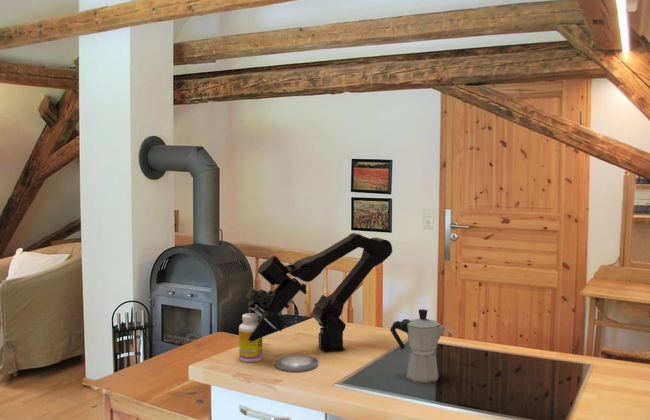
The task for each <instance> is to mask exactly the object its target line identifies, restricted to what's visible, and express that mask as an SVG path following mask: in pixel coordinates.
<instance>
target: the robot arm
mask: <svg viewBox="0 0 650 420" xmlns="http://www.w3.org/2000/svg"><path fill="white" fill-rule="evenodd" d="M358 248H360V249H363V250H362V253H361V257H360V259H359V260H358V261H357V263H355V265H354V266H353V268H352V269H351V270H350V271H349V272H348V274H347V275H346V276H345V278H343V280H342V281H341V282H340V283H339V285H338V286H337V287H336V288H335V290H334V291H333V292H332V293H331V294H330V295H328V296H326V295H325V294H322V295H321V296H320V298H319V300H318V301H316V303H314V304H313V305H314V308H313V310H312V316H313V319H314V320H315V321H316V322H317V323H318V325H319V326H320V328H319V329H320V330H319V332H318V345H317V346H318V347H319V349H321V350H322V352H323V353H330V352H337V351H341V352H342V351H345V350H346V348H345V347H344V346H343V345H344V331H345V329H346V327H347V324H346V323H345V322H344V321H343V320H342V319H341V318H340V317H341V316H342V313H343V309H344V307H345V306H344V305H345V304H346V302H347V301H348V300H349V298H350V297H352V295H353V294H354V292H355V291H356V290H357V289H358V288H359V286H360V285H361V283H362V282H364V280H365V278H367V276H368V275H369V274H370V272H371V271H372V270H373V269H374V268H375V267H376V266H379V265H380V264H382V263H384V262H385V261H386V259H388V258H389V257H390V256H391V255H392V253H393V245H392V243H391V242H390V241H389V239H388V240H387V239H384V238H381V237H380V238H379V237H378V236H377V237H376V236H375V237H371V238H369V237H367V236H364V235H363V234H360V233H356V232H352V233H350V234H348V235H347V236H346V237H344V238H343V239H341V240H339V241H338V242H335V243H334V244H332V245H331V246H329V247H326V249H324V250H322V251H320V252H318V253H315V254H313V255H310V256H309V255H308V256H305V257H303V258H299V259H298V260H296V261H295V262H294V263H292V264H287V265H284V263H282V262H281V261H280V259H279V258H278V257H277V256H275V255H272V256H271V257H270V258H268V259H267V260H265V261H263V262H262V263H261V264H260V266H259V268H258V269H257V273H258V274H259V275H260V276H261V277H262V278H263V279H265V281H266V282H268V283H269V285H270V286H276V287H274V289H273V291H272V290H268V292H267V290H264V289H261V288H260V289H258V288H257V289H256V288H254V287H251V286H250V287H249V289H248V291H247V294H246V296H245V298H246V299H248V300H249V301H248V303H247V305H248V313H255V314H258V315H259V319H258V323H259V324H258V326H257V327H256V328H255V330H254V331H253V333H252V334H251V336H250V337H249V341H251V342H252V341H254V340H256V339H259V338H261V337H262V338H263V337H265V336H267V335H270V334H272V333H277V330H278V331H279V332H282V331H283V330H284V328H285V327H286V322H285V321H284V319H282V318H281V316H280V313H282V312H283V310H284V309H289V307H290V306H289V303H291V301H292V300H293V299H294V298H295V296H296V295H298V294H299V292H300V293H302V294H304V295H306V294H307V284H305V283H304V282H306V283H309V282H311V281H313V280H314V279H316V278H317V277H318V276H320V274H321V273H322V272H324V269H326V267H328V266H329V265H331V264H332V263H335V262H336V261H338V260H339V259H341V258H343V257H344V256H346V255H348V254H349V253H351V252H352V251H354V250H357V249H358ZM288 274H289V275H290V276H292V277H293V278H291V277H290V276H289V275H288ZM299 280H300V281H302V282H303V283H301V282H300V281H299Z"/></svg>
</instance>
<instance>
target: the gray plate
mask: <svg viewBox="0 0 650 420" xmlns="http://www.w3.org/2000/svg"><path fill="white" fill-rule="evenodd" d="M318 366H319V361H318V359H317V358H316V357H314V356H312V355H306V354H288V355H283V356H280V357H278V358H276V359H275V361H274V368H275V369H276V370H278V371H281V372H284V371H285V373H286V372H287V373H306V372H309V371H313V370H315V369H316V368H318Z"/></svg>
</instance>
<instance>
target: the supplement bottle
mask: <svg viewBox="0 0 650 420" xmlns="http://www.w3.org/2000/svg"><path fill="white" fill-rule="evenodd" d="M241 317H242V318H241V319H242V323H241V324H239V326H238V347H239V349H238V353H239V355H238V356H239V357H238V358H239V360H240V361H242V362H243V363H255V362H256V363H257V362H259V361H261V360H262V359H263V354H264V353H263V337H261V338H259V339H256V340H254V341H252V342H251V341H249V337H250V336H251V334H252V333H253V331H254V330H255V328H256V327H257V326H258V324H259V323H258V319H259V315H258V314H255V313H249V312H248V313H244V314H242V316H241Z"/></svg>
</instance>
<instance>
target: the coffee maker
mask: <svg viewBox="0 0 650 420" xmlns="http://www.w3.org/2000/svg"><path fill="white" fill-rule="evenodd" d="M418 315H419V318H414V319H409V318H404V319H402V320H401V321H399V320H397V321H393V323H392V324H391V327H390V329H389V331H390V332H391V334H392V336H393V338H394V339H395V341H396V342H397V345H398V346H399V347H400V349H401V351H403V350H404V349H405V348H406V346H405V344H404V343H403V340H402V339H401V337H400V336H399V334H398V332H397V331H396V330H400V331H401V332H404V333H406V334H407V339H408V341H407V342H408V347H410V351H409V352H410V353H409V358H408V365H407V369H406V377H405V378H406V379H408V380H409V381H411V382H413V383H418V384H419V383H421V384H423V383H424V384H430V383H434V382H438V381H439V380H438V379H439V370H438V364H437V357H436V352H435V350H436V349H437V348H438V343H439V341H440V338H441V336H442V334H443V333H444V332H445V330H446V329H448V326H445V325H443V324H440V323H439V322H438V321H436V320H433V319H428V318H427V315H428V309H424V308H422V309H418Z"/></svg>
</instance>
